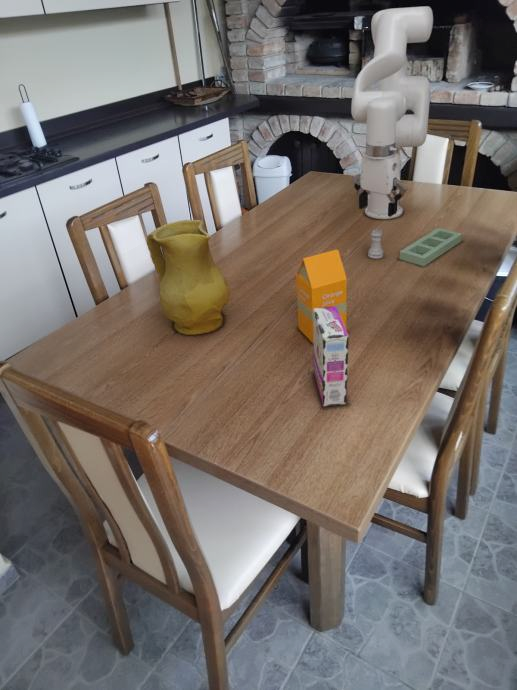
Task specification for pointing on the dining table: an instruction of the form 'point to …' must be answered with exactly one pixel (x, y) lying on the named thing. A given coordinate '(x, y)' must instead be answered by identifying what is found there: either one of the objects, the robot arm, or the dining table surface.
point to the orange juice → (320, 288)
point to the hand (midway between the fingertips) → (377, 211)
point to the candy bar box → (330, 355)
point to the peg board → (430, 246)
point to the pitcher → (188, 277)
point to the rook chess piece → (376, 245)
